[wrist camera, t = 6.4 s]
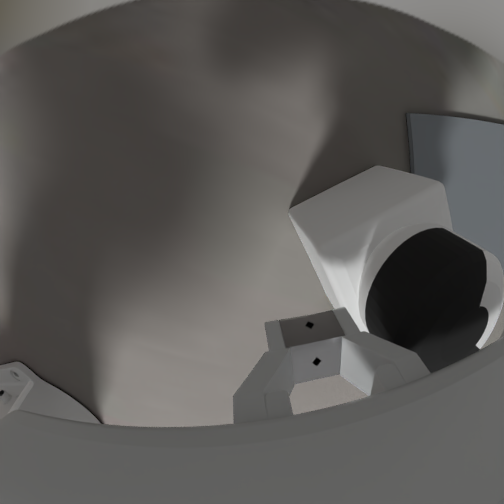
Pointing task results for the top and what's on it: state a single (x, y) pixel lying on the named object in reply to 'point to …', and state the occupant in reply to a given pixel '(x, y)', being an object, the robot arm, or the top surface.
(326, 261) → the medicine bottle
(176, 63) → the top surface
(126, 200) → the top surface
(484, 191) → the dark rubber mat
